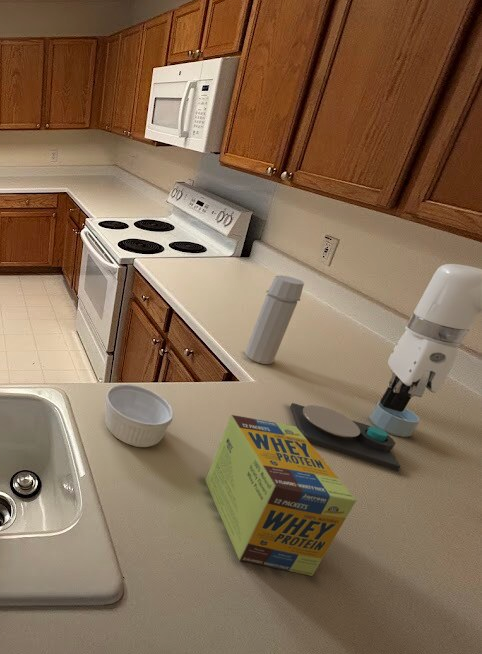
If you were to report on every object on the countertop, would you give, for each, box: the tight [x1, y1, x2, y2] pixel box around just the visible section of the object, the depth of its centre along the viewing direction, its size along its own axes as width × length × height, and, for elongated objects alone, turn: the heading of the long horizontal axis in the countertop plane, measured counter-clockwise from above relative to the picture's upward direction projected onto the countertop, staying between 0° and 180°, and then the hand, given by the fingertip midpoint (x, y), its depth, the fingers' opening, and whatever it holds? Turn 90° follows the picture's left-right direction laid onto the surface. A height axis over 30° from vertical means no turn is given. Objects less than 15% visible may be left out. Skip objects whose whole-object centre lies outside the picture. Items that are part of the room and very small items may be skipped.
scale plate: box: [303, 404, 360, 438], centre depth 90 cm, size 10×10×1 cm
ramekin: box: [104, 383, 174, 448], centre depth 86 cm, size 13×13×7 cm
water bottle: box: [244, 274, 305, 365], centre depth 116 cm, size 9×8×25 cm
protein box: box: [204, 414, 357, 577], centre depth 65 cm, size 10×15×16 cm
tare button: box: [367, 425, 389, 442], centre depth 87 cm, size 3×3×2 cm
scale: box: [289, 402, 401, 472], centre depth 90 cm, size 16×13×3 cm
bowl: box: [368, 400, 421, 438], centre depth 94 cm, size 7×7×5 cm
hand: (390, 407), depth 84 cm, fingers closed
